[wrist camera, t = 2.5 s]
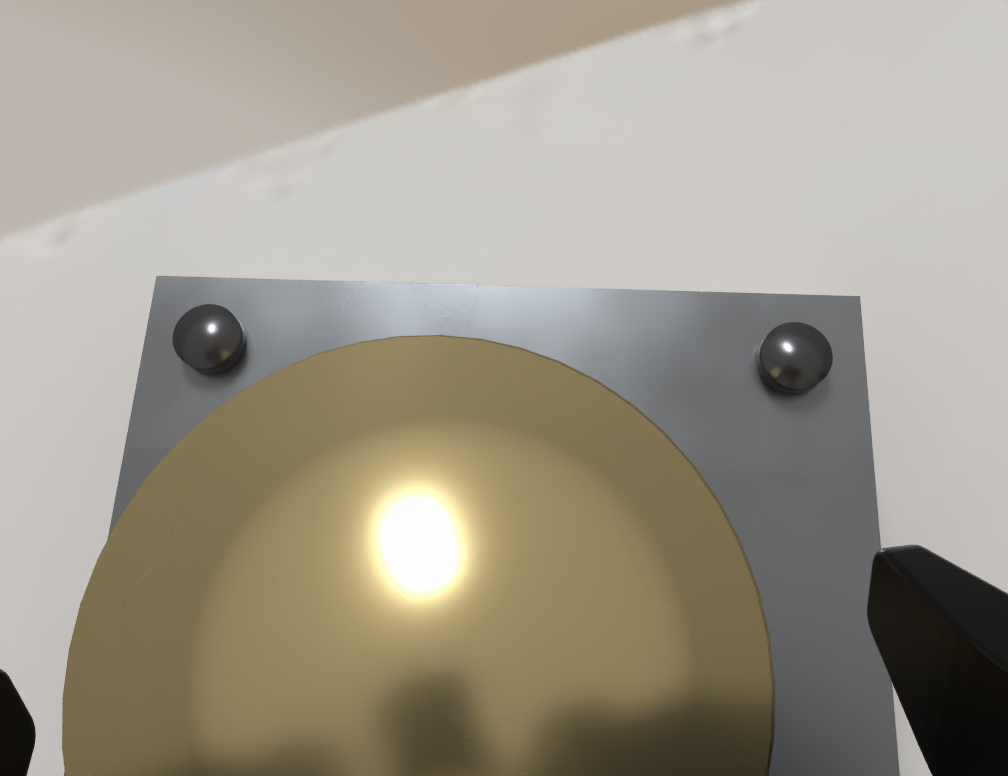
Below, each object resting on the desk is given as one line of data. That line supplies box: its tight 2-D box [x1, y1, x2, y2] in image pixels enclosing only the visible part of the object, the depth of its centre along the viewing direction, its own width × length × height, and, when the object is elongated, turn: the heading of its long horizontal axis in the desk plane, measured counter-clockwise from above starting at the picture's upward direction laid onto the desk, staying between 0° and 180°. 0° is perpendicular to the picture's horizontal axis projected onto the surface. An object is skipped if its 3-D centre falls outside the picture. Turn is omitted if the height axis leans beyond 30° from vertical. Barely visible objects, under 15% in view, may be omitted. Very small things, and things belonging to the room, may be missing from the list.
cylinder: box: [62, 335, 775, 776], centre depth 11 cm, size 5×5×11 cm
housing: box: [64, 276, 900, 776], centre depth 15 cm, size 13×13×3 cm
